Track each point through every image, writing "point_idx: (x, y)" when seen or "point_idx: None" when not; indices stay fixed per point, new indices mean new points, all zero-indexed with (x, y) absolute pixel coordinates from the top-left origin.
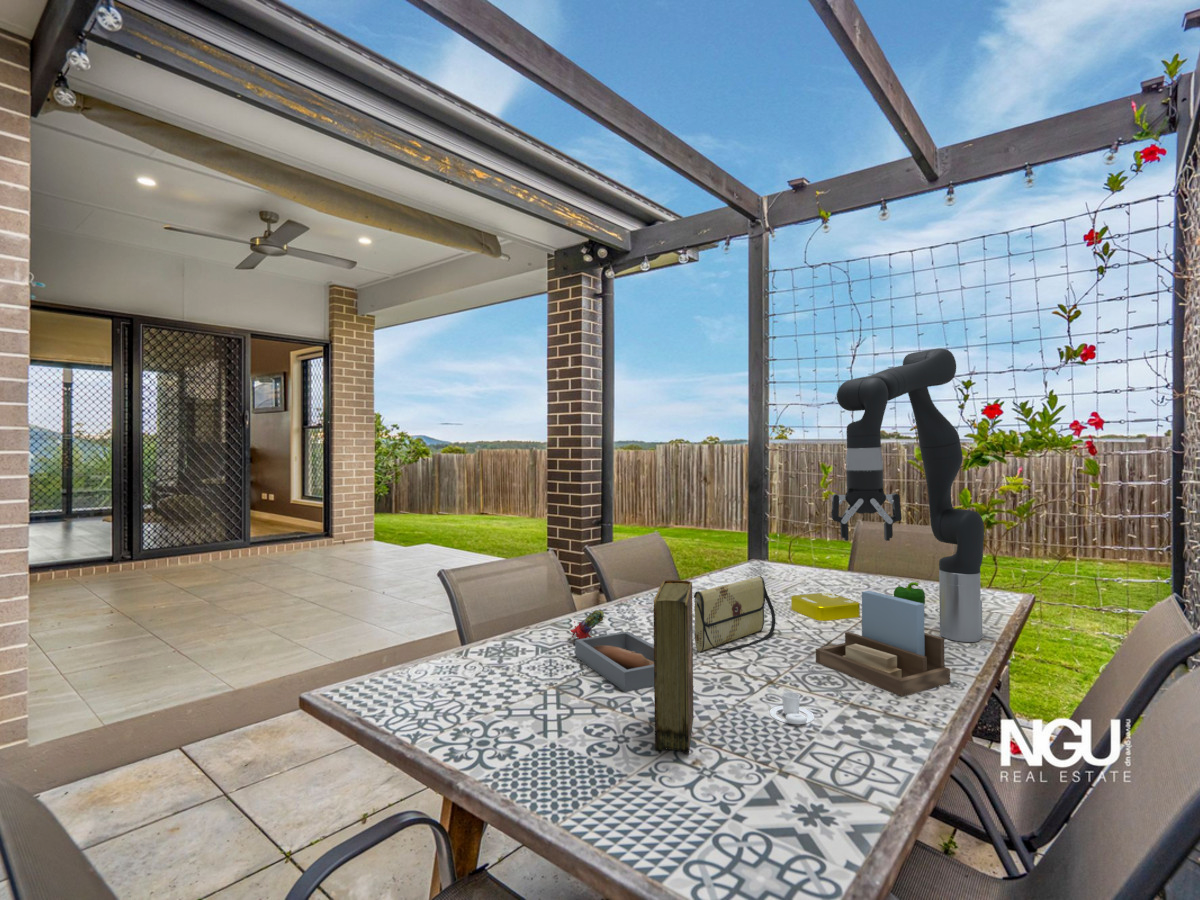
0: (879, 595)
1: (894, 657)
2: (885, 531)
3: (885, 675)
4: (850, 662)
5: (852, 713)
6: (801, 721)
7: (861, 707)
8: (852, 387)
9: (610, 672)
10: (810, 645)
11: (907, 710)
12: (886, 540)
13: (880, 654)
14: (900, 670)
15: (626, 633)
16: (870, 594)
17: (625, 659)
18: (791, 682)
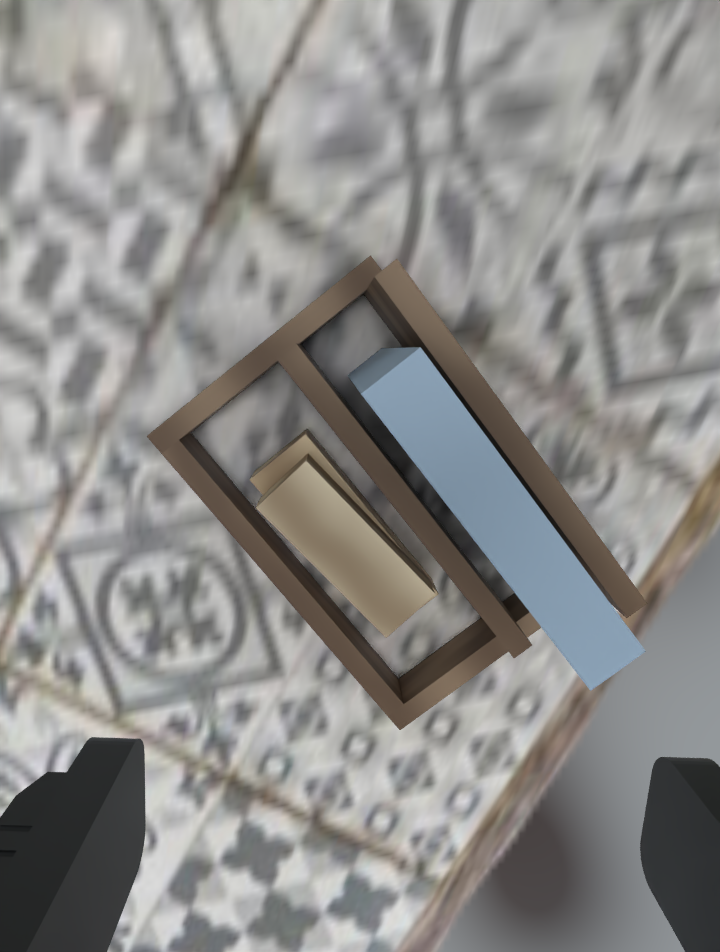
0: (450, 485)
1: (422, 603)
2: (714, 936)
3: (361, 684)
4: (265, 573)
5: (224, 842)
6: None
7: (256, 799)
8: None
9: None
10: (157, 203)
11: (381, 795)
12: (644, 855)
13: (376, 587)
14: (433, 596)
15: None
16: (404, 448)
17: None
18: (60, 651)
